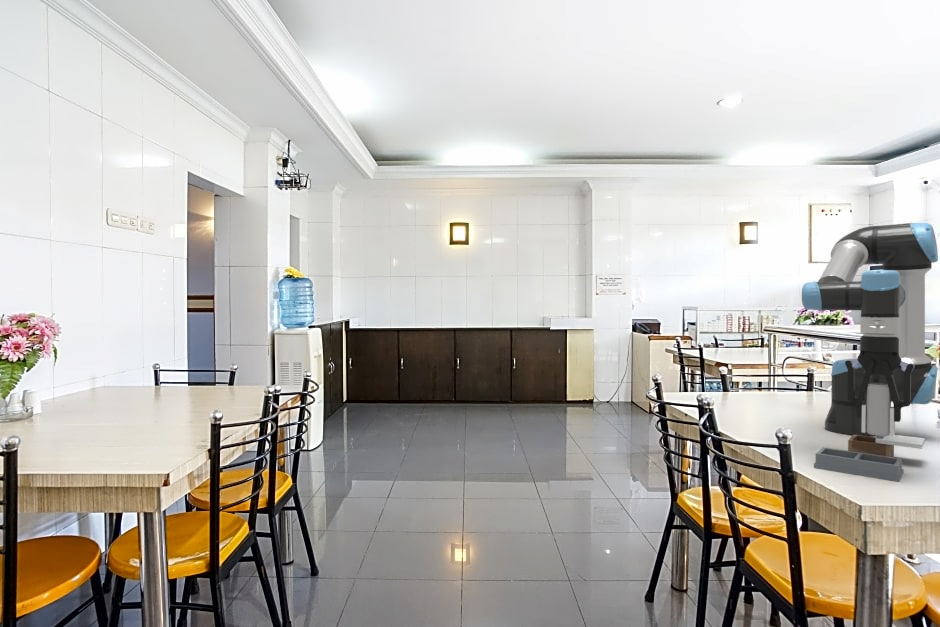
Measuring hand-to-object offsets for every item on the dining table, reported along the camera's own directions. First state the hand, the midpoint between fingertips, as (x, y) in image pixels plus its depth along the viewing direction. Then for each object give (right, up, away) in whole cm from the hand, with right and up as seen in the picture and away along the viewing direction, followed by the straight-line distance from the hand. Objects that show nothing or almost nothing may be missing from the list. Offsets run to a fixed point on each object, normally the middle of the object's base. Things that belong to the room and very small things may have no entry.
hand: (878, 433), depth 137 cm
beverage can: (0, -1, 0) cm, 1 cm away
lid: (+14, -5, +11) cm, 19 cm away
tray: (+9, -10, +16) cm, 20 cm away
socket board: (-3, -10, +3) cm, 10 cm away
